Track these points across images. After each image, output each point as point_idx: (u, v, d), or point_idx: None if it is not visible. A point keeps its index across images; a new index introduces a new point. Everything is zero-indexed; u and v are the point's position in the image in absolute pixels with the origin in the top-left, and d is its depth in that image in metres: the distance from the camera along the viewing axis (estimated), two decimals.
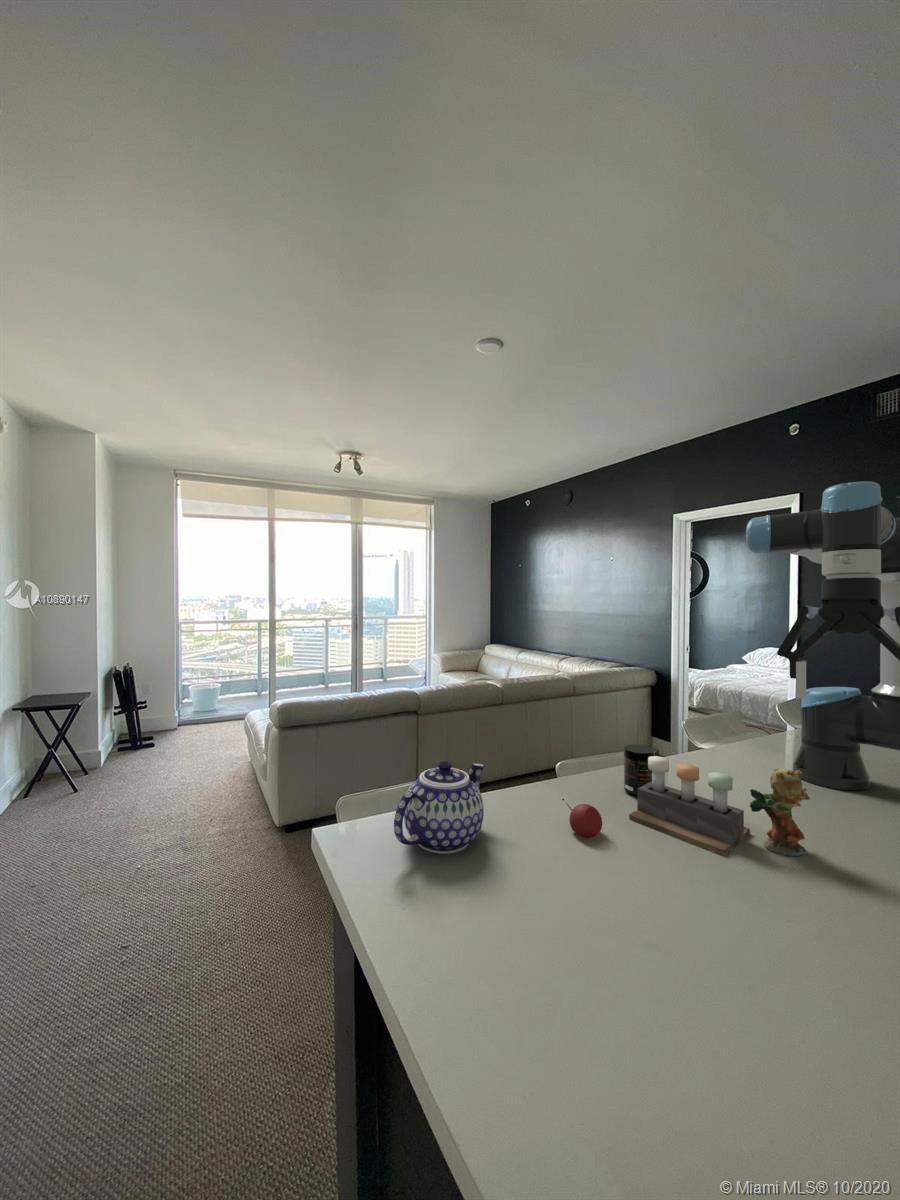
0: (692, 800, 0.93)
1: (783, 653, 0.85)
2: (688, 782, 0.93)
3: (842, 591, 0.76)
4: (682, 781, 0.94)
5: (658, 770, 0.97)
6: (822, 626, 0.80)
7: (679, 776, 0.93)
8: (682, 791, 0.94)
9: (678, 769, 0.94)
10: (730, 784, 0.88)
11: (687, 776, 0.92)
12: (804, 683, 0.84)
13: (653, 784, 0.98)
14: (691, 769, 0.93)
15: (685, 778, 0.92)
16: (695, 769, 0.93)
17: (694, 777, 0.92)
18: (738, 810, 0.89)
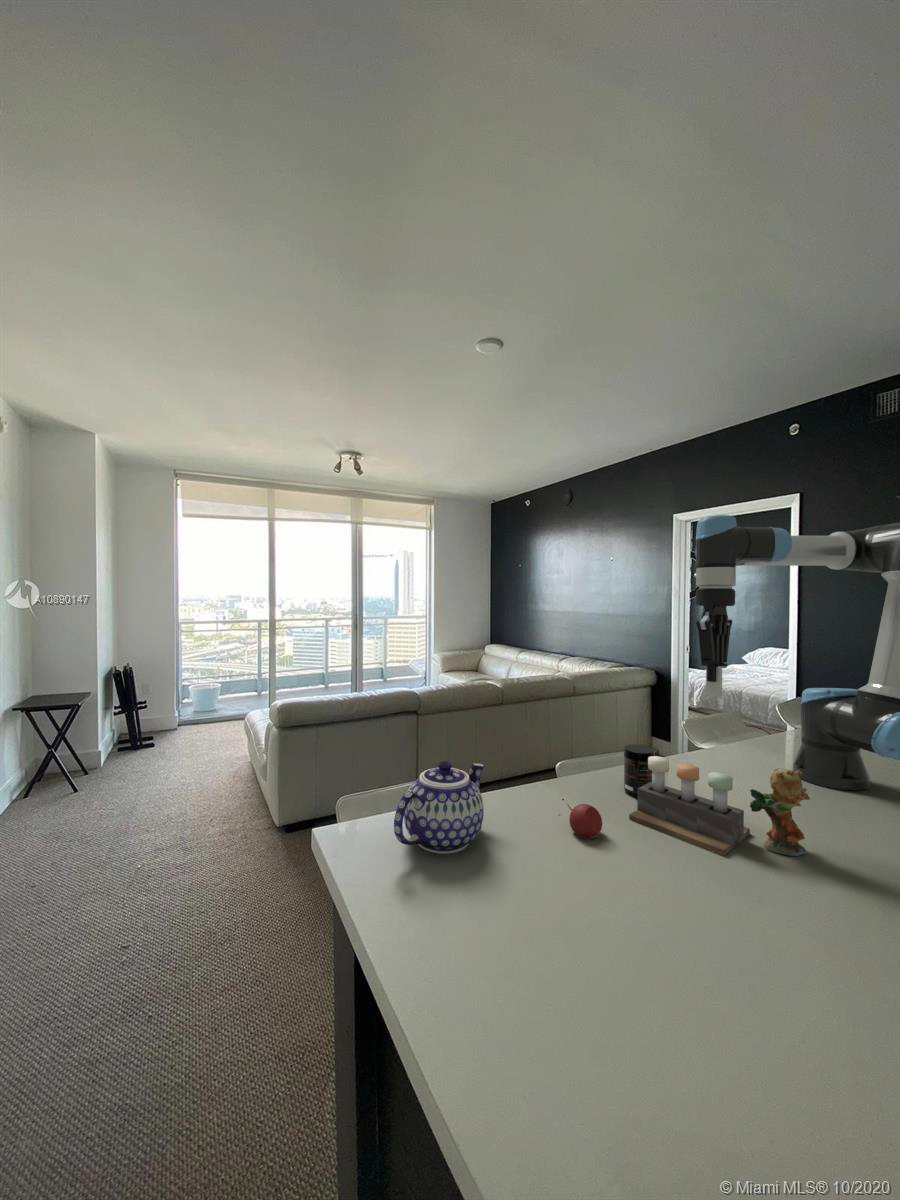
0: (692, 800, 0.93)
1: None
2: (688, 782, 0.93)
3: None
4: (682, 781, 0.94)
5: (658, 770, 0.97)
6: None
7: (679, 776, 0.93)
8: (682, 791, 0.94)
9: (678, 769, 0.94)
10: (730, 784, 0.88)
11: (687, 776, 0.92)
12: None
13: (653, 784, 0.98)
14: (691, 769, 0.93)
15: (685, 778, 0.92)
16: (695, 769, 0.93)
17: (694, 777, 0.92)
18: (738, 810, 0.89)
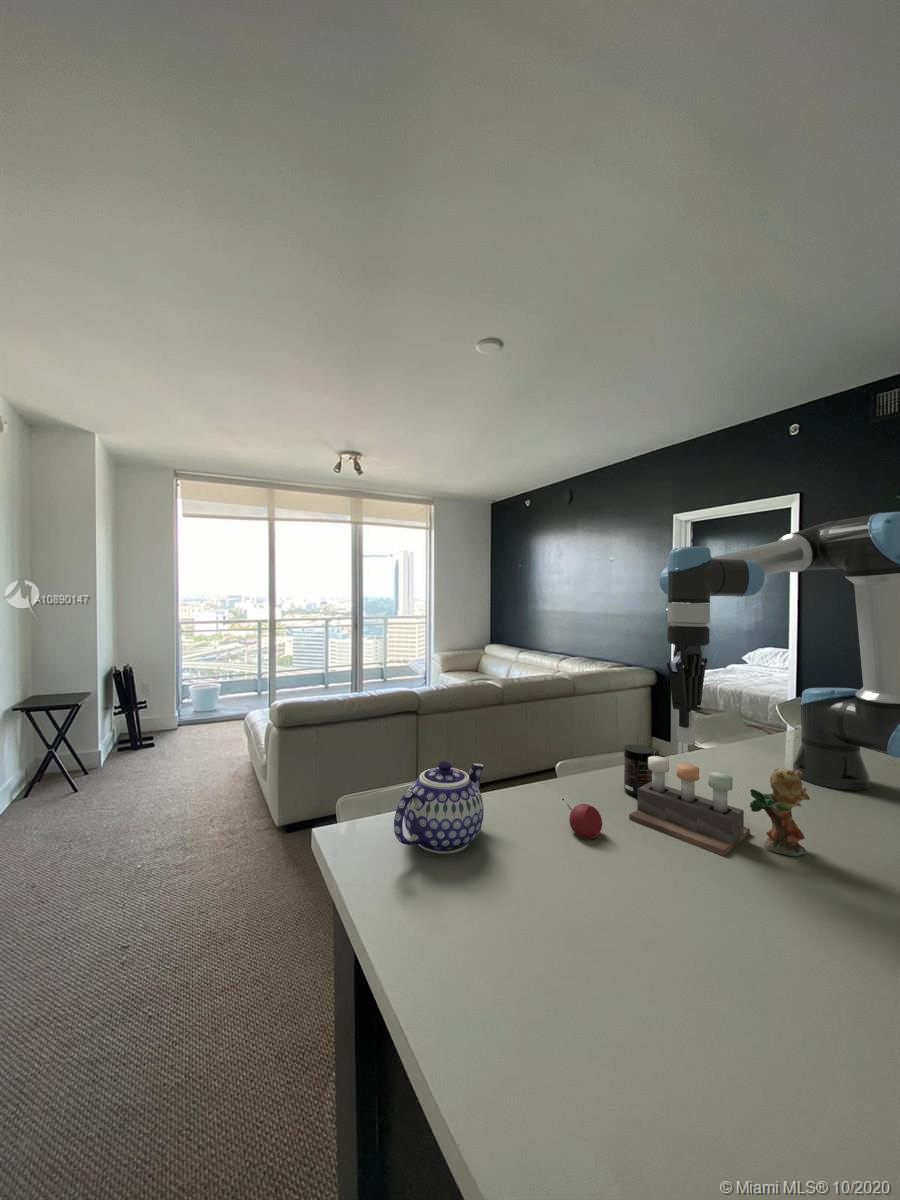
0: (692, 800, 0.93)
1: None
2: (688, 782, 0.93)
3: None
4: (682, 781, 0.94)
5: (658, 770, 0.97)
6: None
7: (679, 776, 0.93)
8: (682, 791, 0.94)
9: (678, 769, 0.94)
10: (730, 784, 0.88)
11: (687, 776, 0.92)
12: None
13: (653, 784, 0.98)
14: (691, 769, 0.93)
15: (685, 778, 0.92)
16: (695, 769, 0.93)
17: (694, 777, 0.92)
18: (738, 810, 0.89)
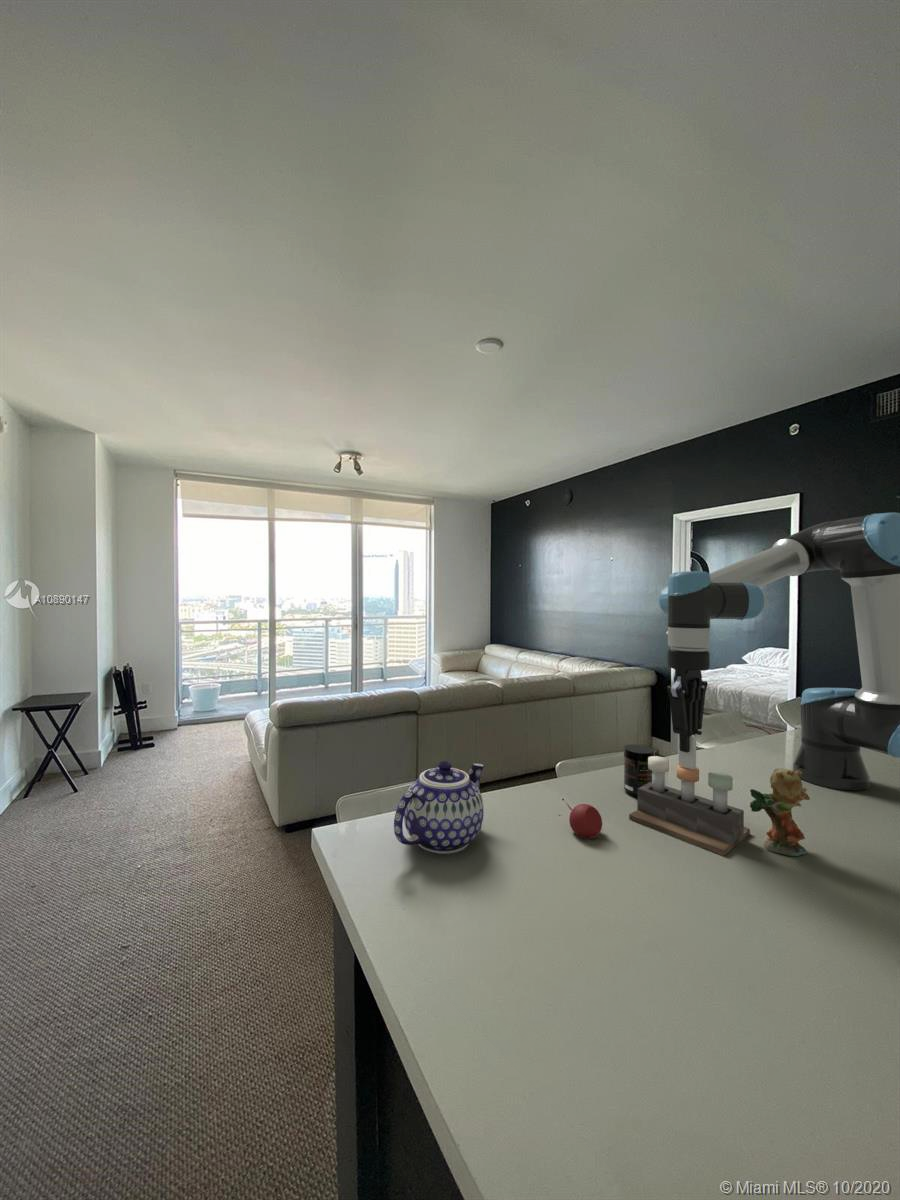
0: (692, 801, 0.93)
1: None
2: (688, 783, 0.93)
3: None
4: (682, 782, 0.94)
5: (658, 770, 0.97)
6: None
7: (679, 777, 0.93)
8: (682, 792, 0.94)
9: (678, 770, 0.94)
10: (730, 784, 0.88)
11: (687, 777, 0.92)
12: None
13: (653, 784, 0.98)
14: (691, 769, 0.93)
15: (685, 779, 0.92)
16: (695, 770, 0.93)
17: (694, 778, 0.92)
18: (738, 810, 0.89)
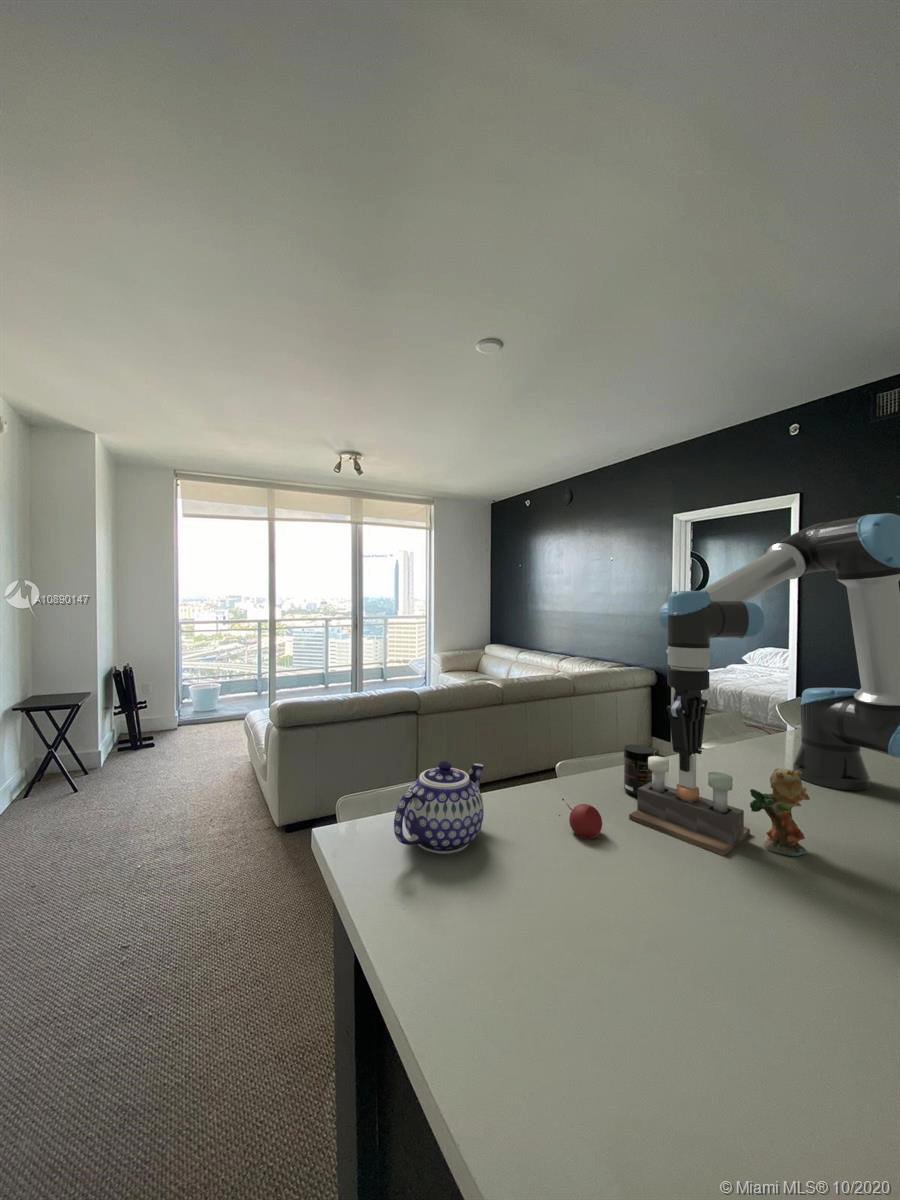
0: None
1: None
2: None
3: None
4: None
5: (658, 770, 0.97)
6: None
7: (679, 796, 0.93)
8: None
9: (678, 789, 0.94)
10: (730, 784, 0.88)
11: (687, 796, 0.92)
12: None
13: (653, 784, 0.98)
14: (691, 789, 0.93)
15: (685, 798, 0.92)
16: (695, 789, 0.93)
17: (694, 797, 0.92)
18: (738, 810, 0.89)
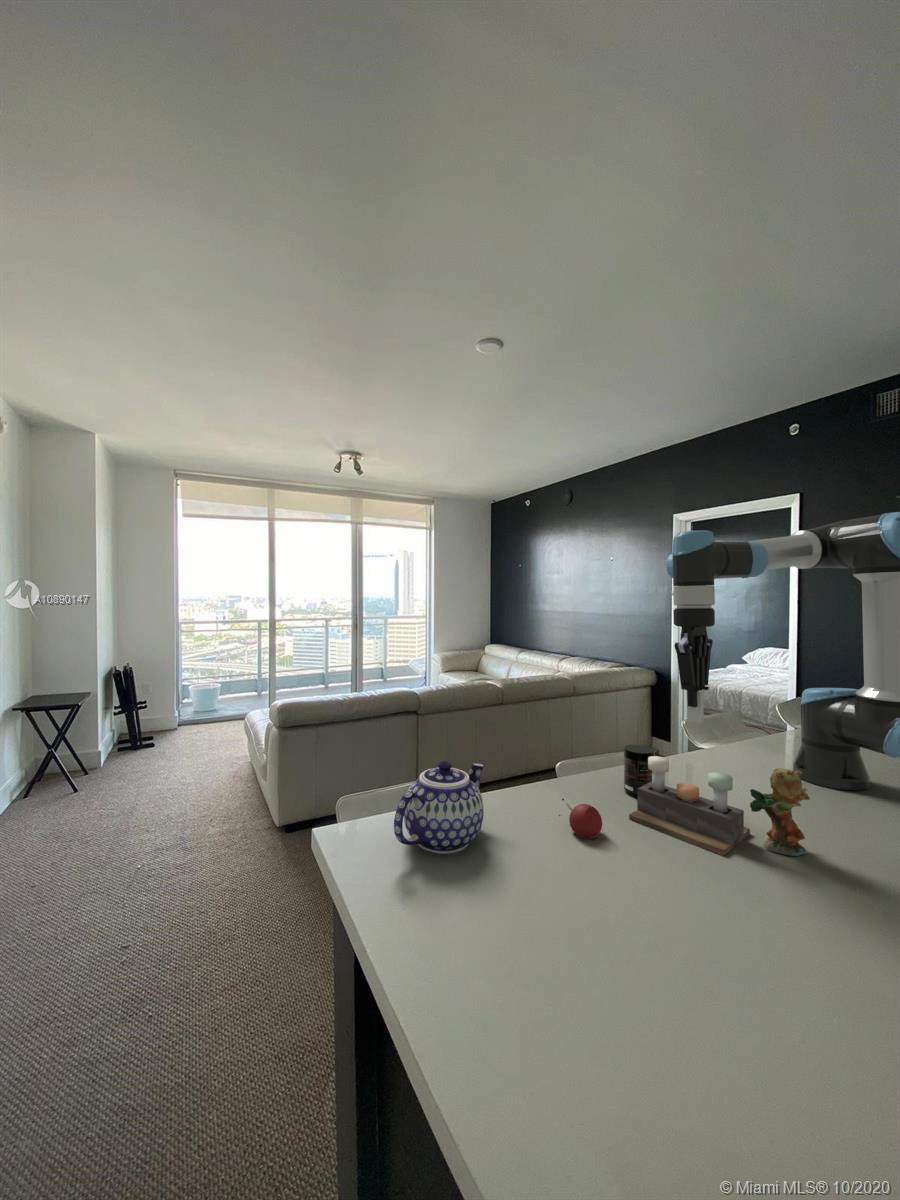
0: None
1: None
2: None
3: None
4: None
5: (658, 770, 0.97)
6: None
7: (679, 796, 0.93)
8: None
9: (678, 789, 0.94)
10: (730, 784, 0.88)
11: (687, 796, 0.92)
12: None
13: (653, 784, 0.98)
14: (691, 789, 0.93)
15: (685, 798, 0.92)
16: (695, 789, 0.93)
17: (694, 797, 0.92)
18: (738, 810, 0.89)
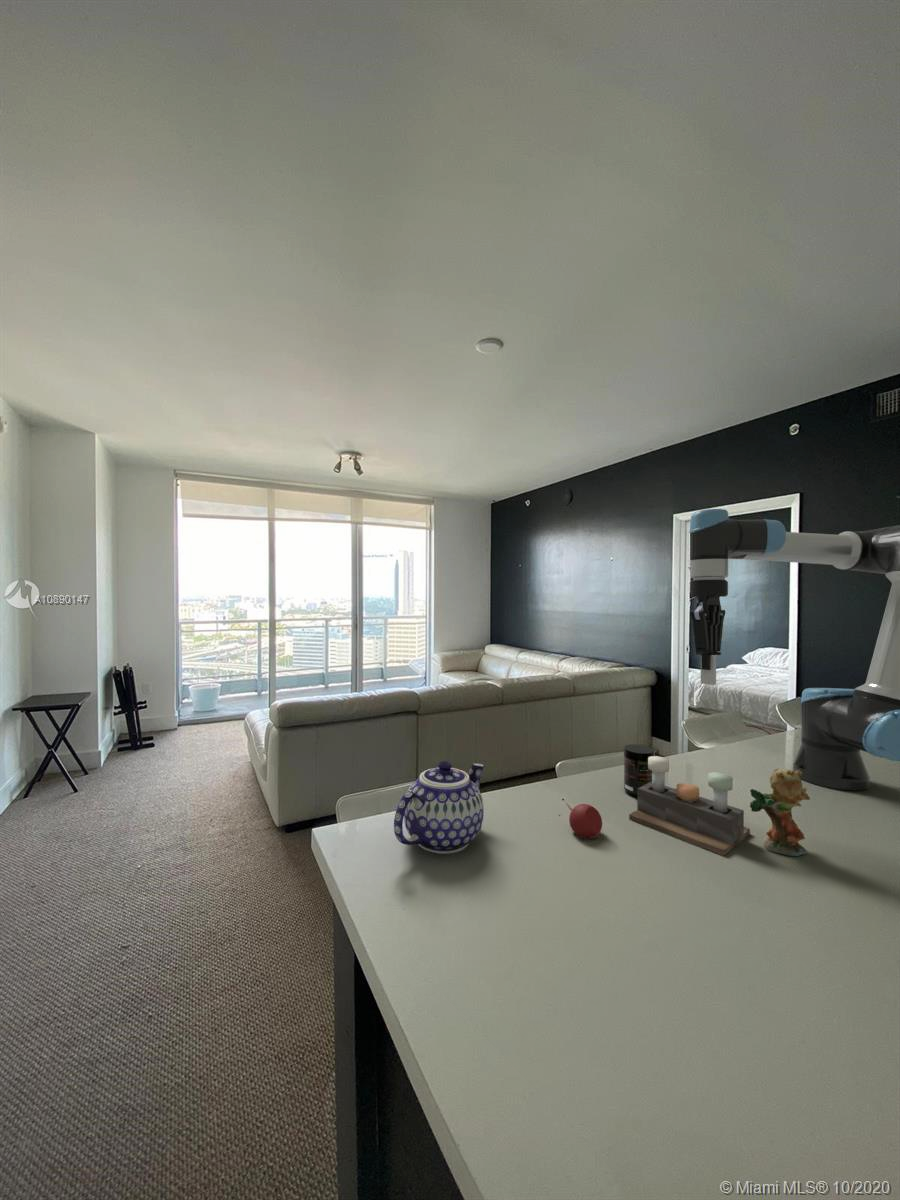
0: None
1: None
2: None
3: None
4: None
5: (658, 770, 0.97)
6: None
7: (679, 796, 0.93)
8: None
9: (678, 789, 0.94)
10: (730, 784, 0.88)
11: (687, 796, 0.92)
12: None
13: (653, 784, 0.98)
14: (691, 789, 0.93)
15: (685, 798, 0.92)
16: (695, 789, 0.93)
17: (694, 797, 0.92)
18: (738, 810, 0.89)
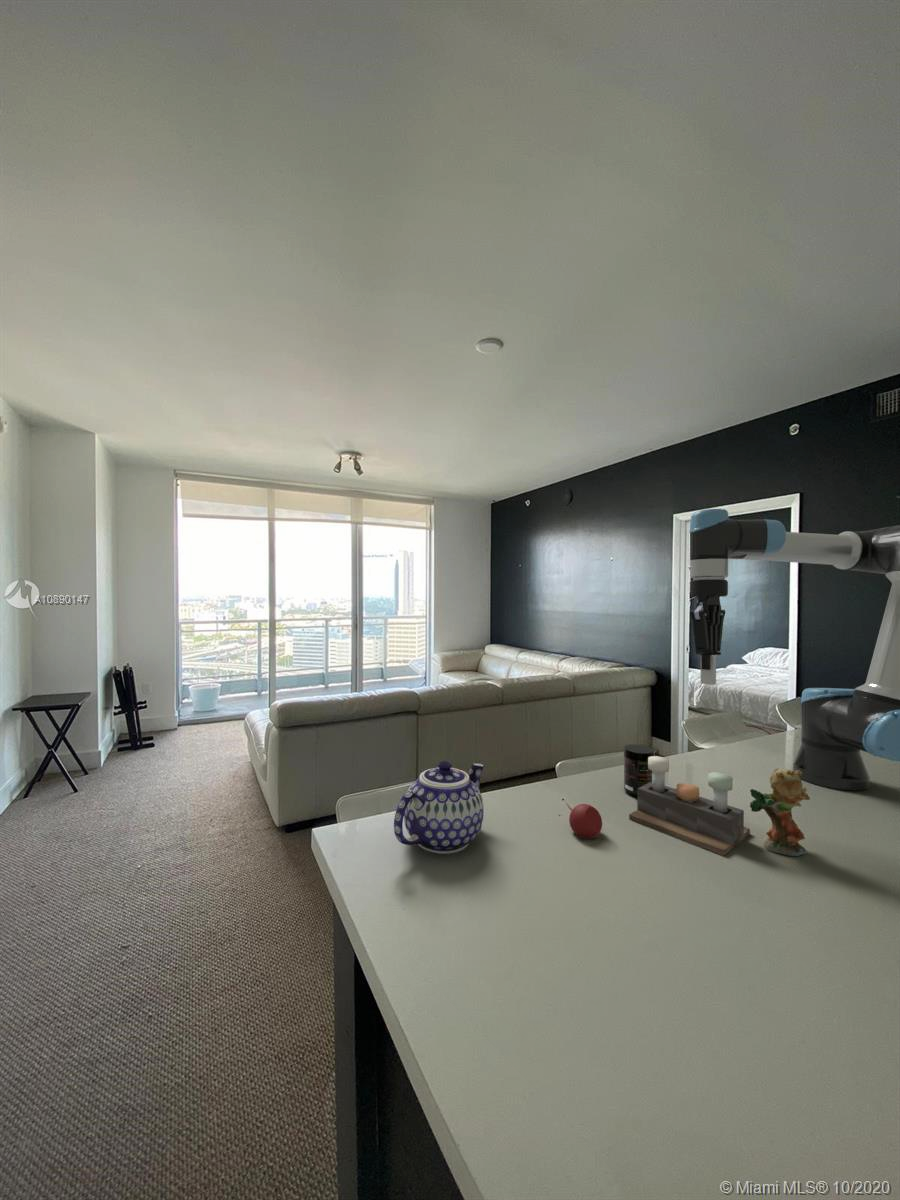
0: None
1: None
2: None
3: None
4: None
5: (658, 770, 0.97)
6: None
7: (679, 796, 0.93)
8: None
9: (678, 789, 0.94)
10: (730, 784, 0.88)
11: (687, 796, 0.92)
12: None
13: (653, 784, 0.98)
14: (691, 789, 0.93)
15: (685, 798, 0.92)
16: (695, 789, 0.93)
17: (694, 797, 0.92)
18: (738, 810, 0.89)
